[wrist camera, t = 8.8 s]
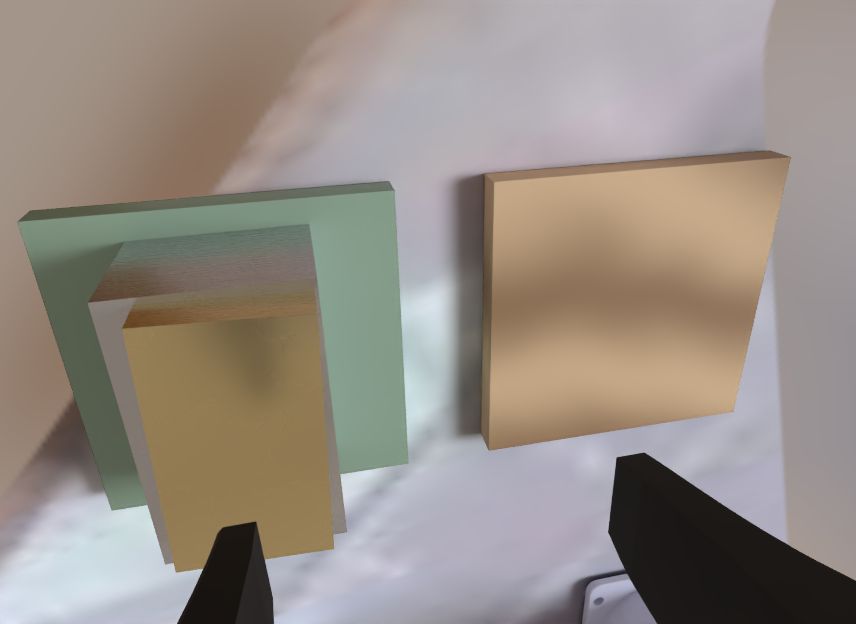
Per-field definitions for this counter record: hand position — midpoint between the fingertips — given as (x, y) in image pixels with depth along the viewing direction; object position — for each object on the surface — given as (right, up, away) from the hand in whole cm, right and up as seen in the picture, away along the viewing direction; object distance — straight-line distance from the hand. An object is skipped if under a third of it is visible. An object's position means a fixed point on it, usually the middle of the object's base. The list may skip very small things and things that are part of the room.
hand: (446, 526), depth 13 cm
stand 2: (+6, +5, +10) cm, 13 cm away
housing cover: (-5, +1, +4) cm, 6 cm away
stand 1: (-6, +3, +8) cm, 11 cm away
